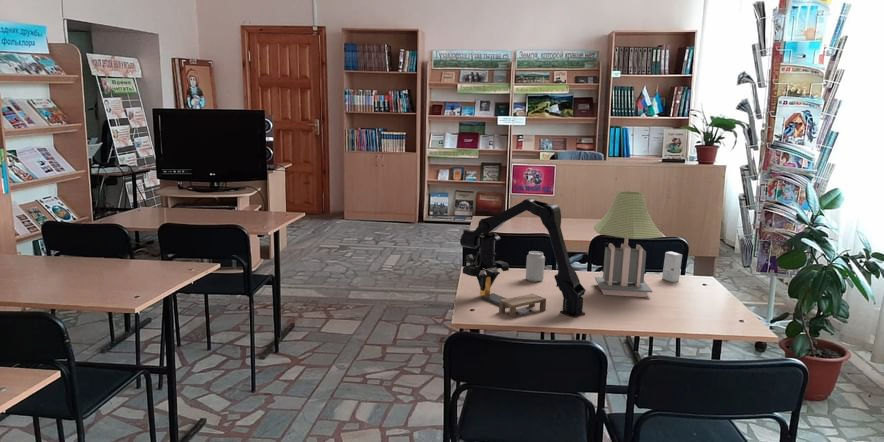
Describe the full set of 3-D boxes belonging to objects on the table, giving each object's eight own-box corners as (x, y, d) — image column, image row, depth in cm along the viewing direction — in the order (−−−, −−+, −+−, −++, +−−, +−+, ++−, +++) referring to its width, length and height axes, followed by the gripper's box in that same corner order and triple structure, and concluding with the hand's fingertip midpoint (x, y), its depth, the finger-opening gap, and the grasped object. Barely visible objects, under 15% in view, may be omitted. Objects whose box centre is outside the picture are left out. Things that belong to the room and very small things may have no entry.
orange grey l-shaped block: (517, 305, 234) (518, 284, 233) (504, 308, 231) (506, 286, 229) (488, 294, 247) (489, 274, 246) (476, 296, 244) (477, 276, 242)
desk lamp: (646, 283, 271) (655, 189, 264) (662, 303, 243) (673, 199, 236) (585, 279, 273) (592, 187, 266) (594, 299, 246) (602, 196, 239)
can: (523, 280, 269) (524, 252, 267) (529, 276, 276) (530, 249, 273) (539, 283, 266) (541, 255, 263) (545, 279, 272) (547, 251, 270)
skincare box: (661, 278, 279) (664, 251, 277) (668, 277, 281) (671, 251, 279) (672, 282, 274) (675, 254, 272) (680, 281, 276) (682, 254, 274)
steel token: (533, 314, 227) (533, 311, 227) (522, 316, 224) (522, 313, 224) (523, 310, 231) (524, 307, 231) (513, 312, 228) (513, 309, 228)
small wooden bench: (545, 310, 230) (546, 298, 229) (512, 317, 220) (513, 305, 219) (531, 305, 235) (532, 293, 234) (499, 312, 226) (499, 300, 225)
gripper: (491, 243, 253) (490, 281, 256) (454, 248, 242) (453, 288, 245) (510, 249, 244) (508, 288, 247) (472, 254, 233) (471, 295, 236)
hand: (485, 290), depth 244 cm, fingers closed on orange grey l-shaped block, 2 cm apart
